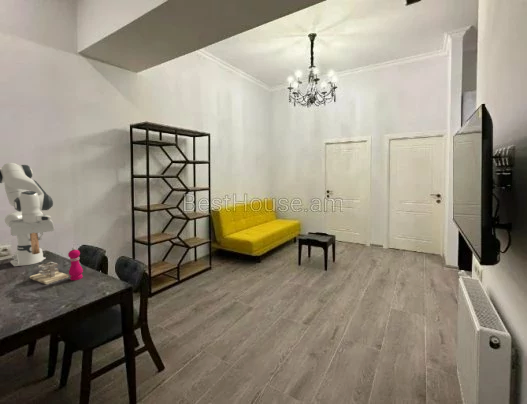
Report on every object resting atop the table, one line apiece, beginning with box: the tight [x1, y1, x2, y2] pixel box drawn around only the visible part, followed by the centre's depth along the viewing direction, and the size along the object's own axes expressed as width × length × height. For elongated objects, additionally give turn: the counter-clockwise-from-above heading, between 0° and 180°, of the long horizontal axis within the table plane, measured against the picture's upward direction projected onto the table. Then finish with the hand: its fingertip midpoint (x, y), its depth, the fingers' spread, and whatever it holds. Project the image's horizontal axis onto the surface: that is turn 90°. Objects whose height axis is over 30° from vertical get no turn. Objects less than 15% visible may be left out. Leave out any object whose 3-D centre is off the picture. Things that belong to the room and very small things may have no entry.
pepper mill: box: [67, 247, 84, 281], centre depth 165 cm, size 7×7×20 cm
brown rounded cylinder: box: [30, 233, 40, 254], centre depth 162 cm, size 4×4×16 cm
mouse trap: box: [29, 261, 70, 285], centre depth 167 cm, size 20×12×9 cm, turn 63°
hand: (34, 240), depth 162 cm, fingers closed on brown rounded cylinder, 4 cm apart
